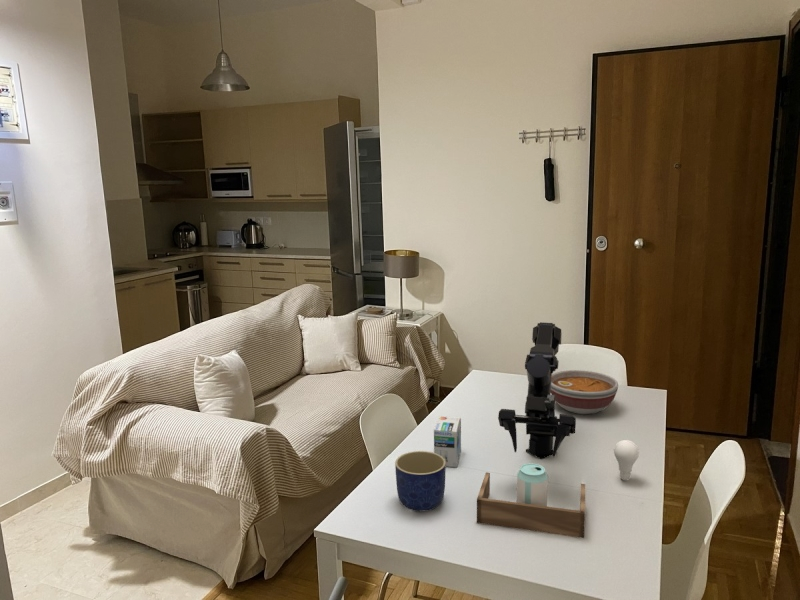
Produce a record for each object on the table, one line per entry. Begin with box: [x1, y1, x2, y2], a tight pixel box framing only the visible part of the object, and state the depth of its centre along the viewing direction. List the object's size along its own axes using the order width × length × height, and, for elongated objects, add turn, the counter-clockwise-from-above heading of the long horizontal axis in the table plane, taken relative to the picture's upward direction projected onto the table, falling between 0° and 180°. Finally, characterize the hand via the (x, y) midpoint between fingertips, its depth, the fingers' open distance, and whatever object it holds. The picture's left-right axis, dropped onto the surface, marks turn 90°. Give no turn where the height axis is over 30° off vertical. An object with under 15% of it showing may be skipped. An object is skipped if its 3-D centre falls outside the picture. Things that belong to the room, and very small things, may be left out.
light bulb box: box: [433, 415, 462, 468], centre depth 175 cm, size 11×7×11 cm, turn 168°
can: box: [516, 462, 549, 506], centre depth 145 cm, size 7×7×12 cm
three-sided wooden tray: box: [476, 471, 586, 539], centre depth 146 cm, size 14×24×6 cm, turn 73°
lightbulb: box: [613, 439, 640, 481], centre depth 160 cm, size 6×6×11 cm
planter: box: [394, 450, 447, 512], centre depth 152 cm, size 12×12×11 cm
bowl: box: [551, 369, 619, 415], centre depth 209 cm, size 23×23×10 cm
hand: (534, 453), depth 149 cm, fingers open, 9 cm apart
